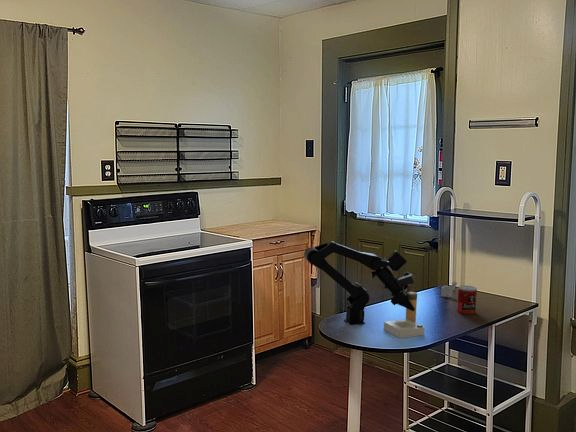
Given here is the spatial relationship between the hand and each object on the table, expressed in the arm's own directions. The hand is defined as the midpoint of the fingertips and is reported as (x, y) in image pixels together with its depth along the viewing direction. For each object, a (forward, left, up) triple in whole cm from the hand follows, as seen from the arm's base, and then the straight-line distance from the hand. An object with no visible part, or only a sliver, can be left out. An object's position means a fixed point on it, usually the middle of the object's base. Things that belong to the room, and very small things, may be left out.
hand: (414, 309), depth 230 cm
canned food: (+33, +8, -7) cm, 35 cm away
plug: (-1, +1, -7) cm, 7 cm away
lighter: (+42, +31, -7) cm, 53 cm away
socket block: (-9, -6, -7) cm, 13 cm away
